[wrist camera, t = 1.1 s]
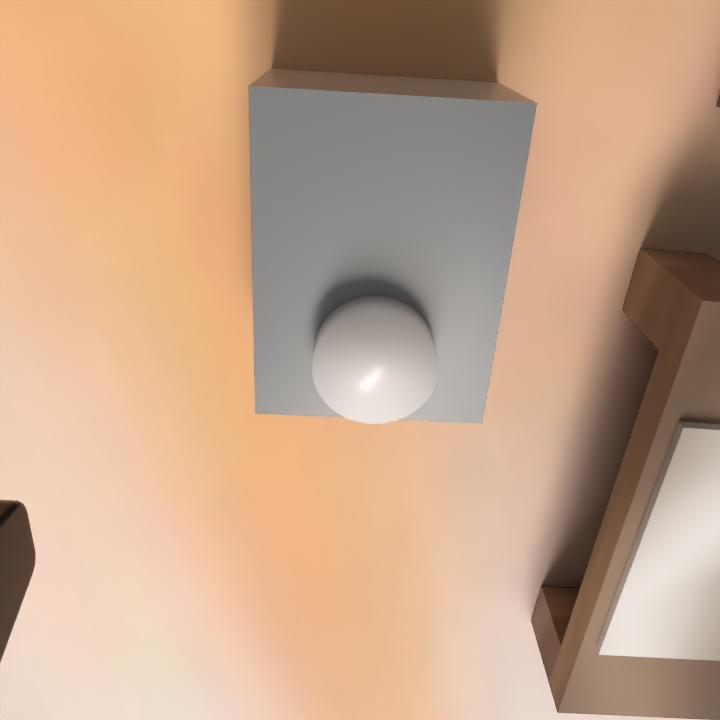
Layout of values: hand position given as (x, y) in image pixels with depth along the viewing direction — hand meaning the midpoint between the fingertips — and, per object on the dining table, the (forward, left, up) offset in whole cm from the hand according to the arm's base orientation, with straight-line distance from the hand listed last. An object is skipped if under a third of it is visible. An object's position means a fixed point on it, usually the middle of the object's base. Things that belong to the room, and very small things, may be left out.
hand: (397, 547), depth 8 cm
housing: (0, 0, -13) cm, 13 cm away
